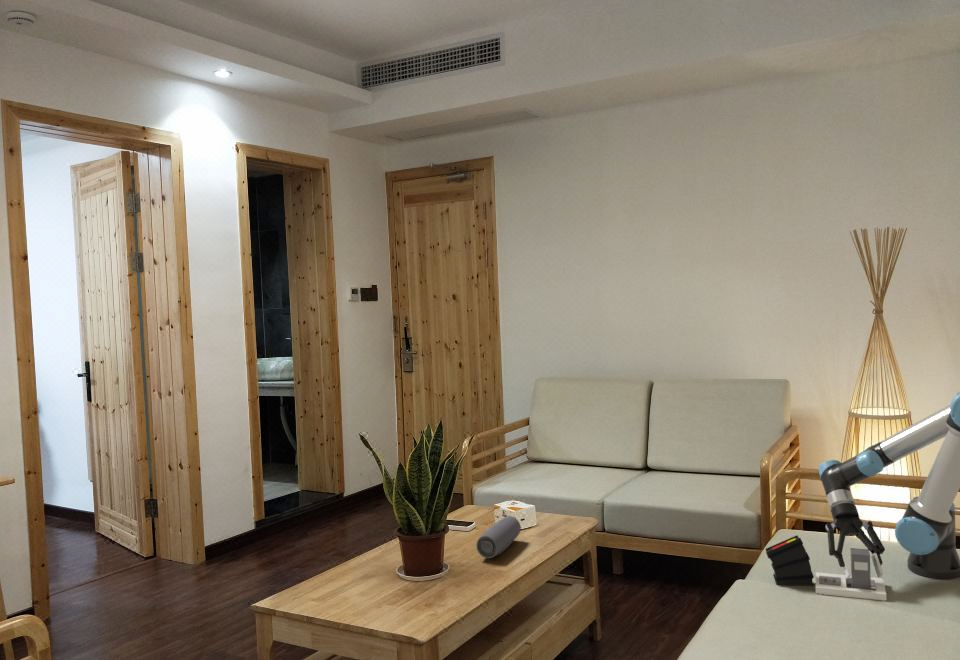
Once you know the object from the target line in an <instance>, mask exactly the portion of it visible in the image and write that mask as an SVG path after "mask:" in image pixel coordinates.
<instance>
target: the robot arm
mask: <svg viewBox="0 0 960 660" xmlns="http://www.w3.org/2000/svg"><path fill="white" fill-rule="evenodd" d="M943 438H944V440H943V442H942V444H941V446H940V448H939V451H938V453H937V454H936V458H935V460H934V462H933V464H932V466H931V468H930V471H929V473H928V475H927V477H926V479H925V482H923V483H924V484H923V485H922V489H921V490H920V493H919V494H918V496H914V497H913V498H912V499H911V500H910V501H909V503H908V505H907V506H906V509H905V511H904V513H903V516H902V518H901V519H899V520H898V521H897V523H896V526H895V529H894V535H895V538H896V540H897V542H898V544H899V545H900V546H901V547H902V548H903V549H904V550H905V551H907V552H909V553H908V557H907V560H906V561H907V562H906V563H907V564H906V565H907V568H908V570H909V571H910V572H912V573H914V574H916V575H918V576H921V577H926V578H931V579H942V580H948V579H957V578H959V577H960V556H959V554H958V550H957V548H956V541H957V540H956V507H955V506H956V505H955V503H954V501H955V500H956V497H957V496H958V493H959V491H960V391H959V392H957V394H956V395H955V396H954V397H953V398H952V400H951V401H950V404H949V405H947V406H945V407H943V408H941V409H939V410H937V411H935V412H934V413H932V414H929V415H928V416H926V417H924V418H923V419H920V420H919V421H916V422H914V423H912V424H910V425H909V426H907V427H905V428H903V429H902V430H900V431H898V432H895V433H894V434H892V435H891V436H890V435H889V437H886V438H885V439H882V440H881V441H879V442H878V443H875V444H873V445H871V446H868V447H867V448H866V449H865V450H863V451H861V452H860V453H858V454H856V455H854V456H853V457H851V458H849V459H847V460H845V461H843V462H841V461H839V460H836V459H830V460H825V461H823V462H821V463H820V464H819V466H818V473H819V478H820V481H821V484H822V486H823V490H824V493H825V496H826V500H827V503H828V507H829V509H830V514H831V516H832V519H833V523H831V522H827V523H826V524H825V531H826V533H827V540H828V541H827V543H828V553H829V556H831V557H832V556H833V557H835V558H836V559H837V563H838V566H839V567H840V568H843V571H844V575H846V579H849V578H850V576H851V568H850V566H849V563H848V560H847V556H846V554H845V553H843V549H844V543H845V539H846V537H849V536H852V537H854V536H855V537H856V538H857V539H859V540H860V541H861V543H862V544H863V545H864V546H865V547H866V549H869V553H871V554H872V555H871V556H870V559H871V560H872V563H873V567H874V570H875V573H876V575H877V578H882V577H883V575H884V572H883V569H882V565H883V562H884V561H883V559H882V556H881V555H883V553H884V552H885V551H886V548H885V546H884V545H883V543H882V541H881V539H880V538H879V536H878V534H877V532H876V531H875V529H874V525H873V522H872V521H871V520H869V521H868V522H864V521H862V520H861V518H860V514H859V513H858V509H857V506H856V503H855V500H854V497H853V493H852V491H851V488H850V487H851V486H854V485H856V484H857V483H860V482H862V481H864V480H866V479H868V478H871V477H875V476H876V475H877V474H879V473H880V472H882V471H883V469H884V468H886V467H888V466H890V465H892V464H894V463H896V462H898V461H899V460H902V459H903V458H906V457H908V456H909V455H912V454H913V453H916V452H918V451H919V450H921V449H923V448H925V447H927V446H929V445H932V444H934V443H935V442H937V441H939V440H941V439H943ZM862 528H864V529H862ZM835 529H836V530H837V531H838V532H839V537H838V542H837V548H836V543H835V533H834V532H835V531H834V530H835ZM864 530H865V531H866V533H867V534H868V536H869V537H868V536H867V535H866V533H865V531H864ZM842 553H843V554H842Z"/></svg>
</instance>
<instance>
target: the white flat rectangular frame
mask: <svg viewBox="0 0 960 660" xmlns="http://www.w3.org/2000/svg"><path fill="white" fill-rule="evenodd" d="M847 585H851V576H850V578H849V579H846V575H845V574H837V573H827V572H826V573H825V572H818V571H816V572H815V594H816V593H819V594H818V595H823V594H824V595H826V596H834V597H843V598H844V597H846V598H856V599H865V600H873V601H887V590H886V585H885V581H884V578H882V577H881V578H878V577H872V576H871V587H874V589H871V590H866V589H855V588H852V587H847Z"/></svg>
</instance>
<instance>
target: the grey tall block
mask: <svg viewBox="0 0 960 660" xmlns="http://www.w3.org/2000/svg"><path fill="white" fill-rule="evenodd" d="M849 549H850V572H851V584H850V585H851V586H850V587H851V588H855V589H866V590H872V586H871V577H872V576H871V554H870V553H871V552H870V551H869V549H868V548H852V547H850V548H849Z"/></svg>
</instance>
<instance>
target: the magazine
mask: <svg viewBox="0 0 960 660" xmlns="http://www.w3.org/2000/svg"><path fill="white" fill-rule="evenodd" d="M765 554H766V556H767V558H768V559H769V560H770V562H771V567H772V570H773V574H772V575H773V578H774V582H775V585H777V586H810V587H811V586H813V582H814V581H813V579H814V577H815V576H814V574H813V571H812V567H811V563H810V560H811V558H810V555H809V553H808V552H807V550H806V549H805V546H804V542H803V540H802V539H801V537H799V535H794V536H791V537H790V538H787V539H785V540H782V541H780V542H778V543H776V544H774V545H771V546H768V547H766V548H765Z"/></svg>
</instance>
